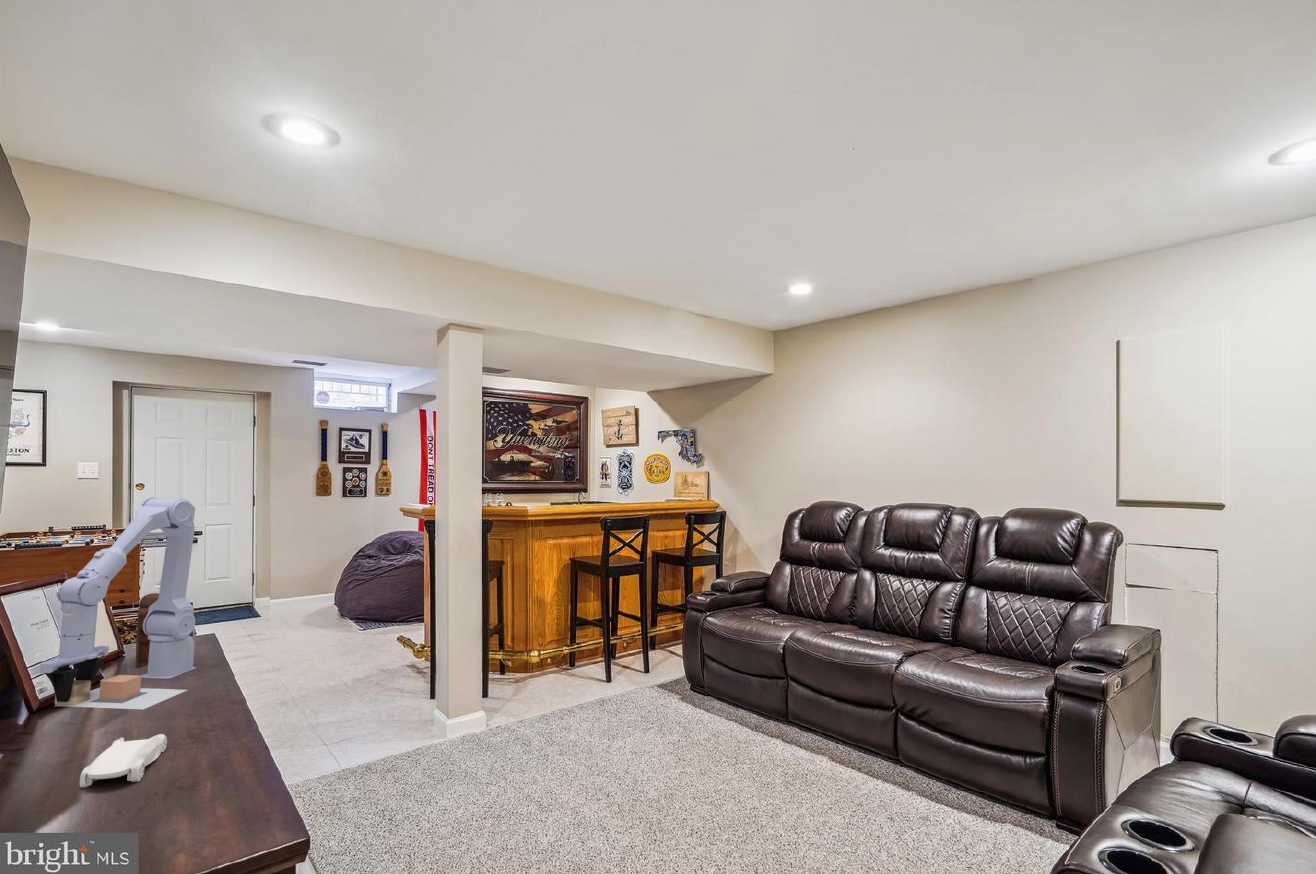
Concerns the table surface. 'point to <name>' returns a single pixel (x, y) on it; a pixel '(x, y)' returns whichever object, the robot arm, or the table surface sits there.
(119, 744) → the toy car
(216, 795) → the table surface
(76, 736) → the table surface
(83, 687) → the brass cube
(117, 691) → the terracotta block
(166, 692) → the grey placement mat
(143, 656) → the wooden figurine
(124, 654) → the table surface
